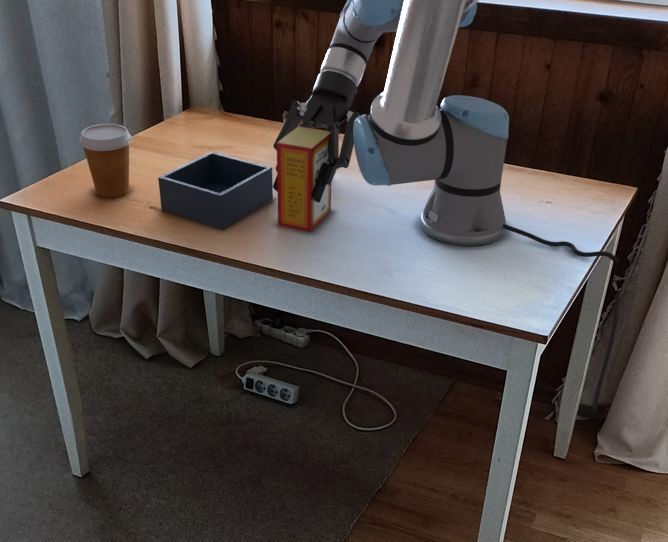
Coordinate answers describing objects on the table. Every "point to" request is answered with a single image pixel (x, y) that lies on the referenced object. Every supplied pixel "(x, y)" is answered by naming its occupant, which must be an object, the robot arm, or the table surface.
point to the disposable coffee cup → (108, 158)
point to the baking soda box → (302, 178)
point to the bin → (216, 189)
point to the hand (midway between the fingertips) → (296, 194)
